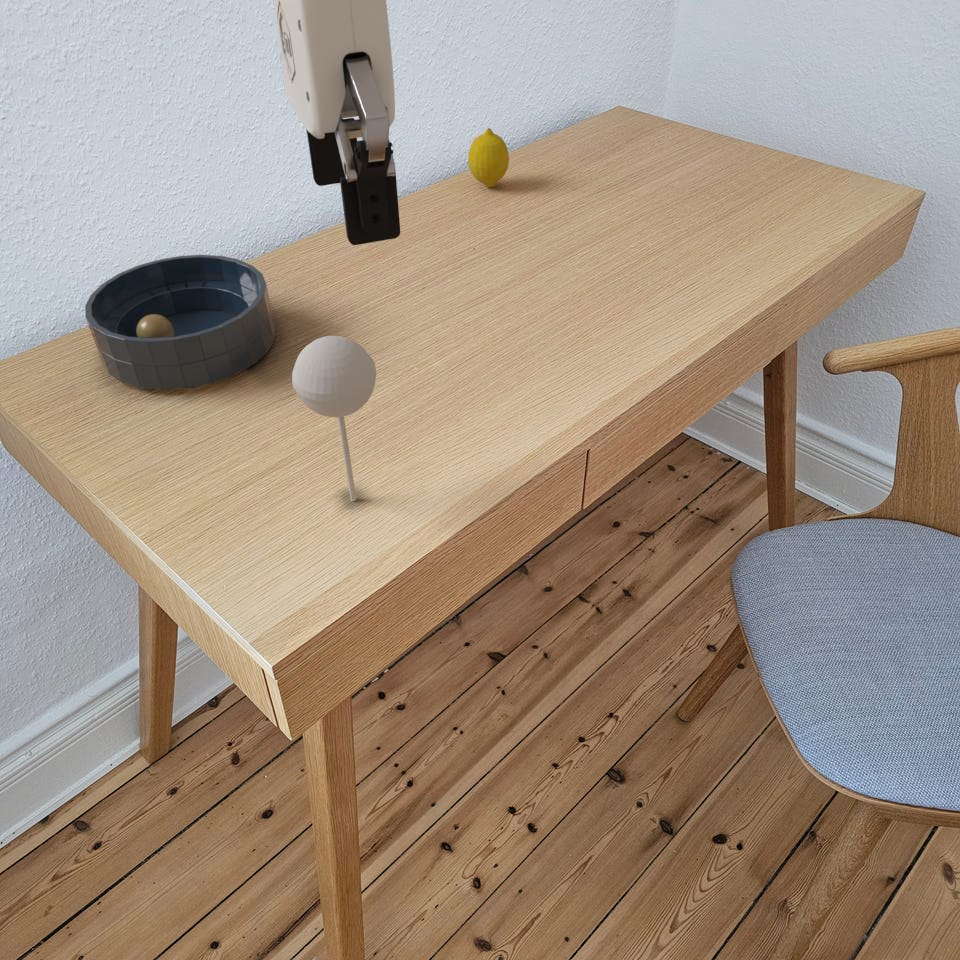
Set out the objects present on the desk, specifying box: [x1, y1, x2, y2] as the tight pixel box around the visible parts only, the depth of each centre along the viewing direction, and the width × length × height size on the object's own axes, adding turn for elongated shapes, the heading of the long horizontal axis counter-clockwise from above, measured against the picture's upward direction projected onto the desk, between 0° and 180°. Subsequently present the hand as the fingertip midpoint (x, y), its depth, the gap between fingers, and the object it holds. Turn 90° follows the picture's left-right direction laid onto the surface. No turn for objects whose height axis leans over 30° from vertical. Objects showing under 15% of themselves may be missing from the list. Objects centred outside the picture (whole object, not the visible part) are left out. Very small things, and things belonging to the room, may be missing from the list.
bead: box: [136, 314, 174, 338], centre depth 85 cm, size 4×4×4 cm
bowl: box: [84, 254, 277, 391], centre depth 86 cm, size 17×17×6 cm
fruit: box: [467, 127, 510, 188], centre depth 115 cm, size 6×6×8 cm
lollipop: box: [291, 335, 377, 502], centre depth 64 cm, size 6×6×15 cm
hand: (355, 208), depth 55 cm, fingers open, 9 cm apart
